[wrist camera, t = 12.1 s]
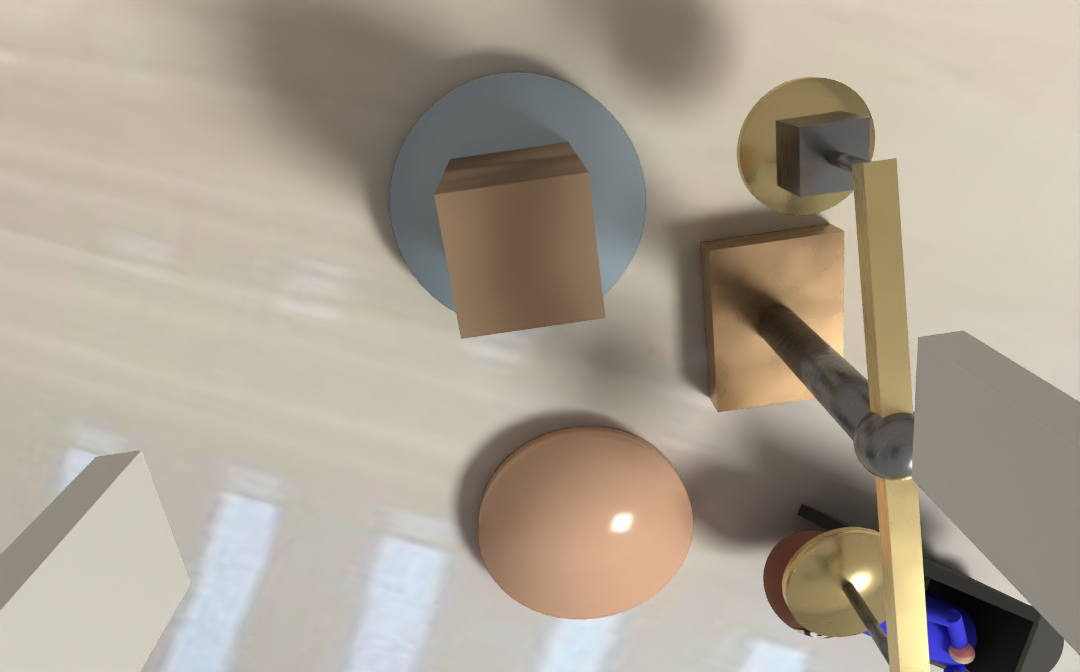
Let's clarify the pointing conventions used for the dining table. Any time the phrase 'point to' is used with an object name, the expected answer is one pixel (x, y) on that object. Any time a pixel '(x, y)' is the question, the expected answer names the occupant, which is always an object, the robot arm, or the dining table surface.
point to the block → (520, 240)
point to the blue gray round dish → (508, 124)
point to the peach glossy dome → (584, 523)
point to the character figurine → (945, 614)
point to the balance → (827, 349)
